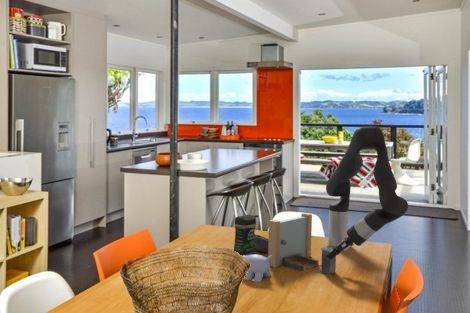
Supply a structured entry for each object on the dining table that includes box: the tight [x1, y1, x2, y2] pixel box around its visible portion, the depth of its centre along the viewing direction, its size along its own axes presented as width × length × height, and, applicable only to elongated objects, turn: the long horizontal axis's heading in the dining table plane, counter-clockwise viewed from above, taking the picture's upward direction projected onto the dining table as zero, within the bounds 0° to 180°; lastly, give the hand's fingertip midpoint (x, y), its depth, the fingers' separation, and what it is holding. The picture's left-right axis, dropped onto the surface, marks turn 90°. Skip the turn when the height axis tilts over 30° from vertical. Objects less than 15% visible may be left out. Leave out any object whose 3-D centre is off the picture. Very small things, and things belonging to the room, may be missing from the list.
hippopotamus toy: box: [242, 253, 272, 283], centre depth 179 cm, size 11×15×10 cm
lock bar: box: [320, 245, 337, 276], centre depth 185 cm, size 4×4×10 cm
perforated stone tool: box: [255, 233, 269, 254], centre depth 213 cm, size 15×5×7 cm, turn 42°
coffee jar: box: [233, 214, 257, 256], centre depth 204 cm, size 10×8×19 cm
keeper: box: [282, 253, 319, 272], centre depth 194 cm, size 11×10×3 cm
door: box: [267, 212, 313, 268], centre depth 199 cm, size 24×5×19 cm, turn 133°
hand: (332, 255), depth 184 cm, fingers open, 8 cm apart
